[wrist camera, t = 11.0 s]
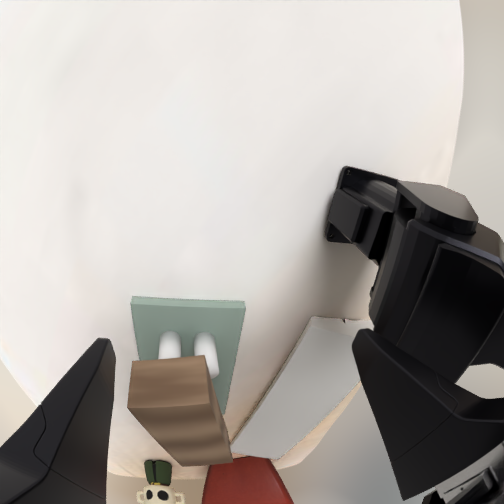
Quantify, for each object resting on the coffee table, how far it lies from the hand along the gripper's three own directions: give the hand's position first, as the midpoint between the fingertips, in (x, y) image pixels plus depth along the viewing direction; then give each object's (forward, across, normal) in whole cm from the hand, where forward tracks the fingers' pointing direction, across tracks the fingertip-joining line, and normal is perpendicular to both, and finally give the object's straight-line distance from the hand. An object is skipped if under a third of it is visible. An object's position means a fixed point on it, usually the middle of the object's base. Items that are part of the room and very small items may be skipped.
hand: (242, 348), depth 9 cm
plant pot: (+13, -7, +61) cm, 63 cm away
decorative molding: (+14, -12, +28) cm, 34 cm away
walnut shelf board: (+8, +2, +18) cm, 20 cm away
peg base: (+13, +3, +18) cm, 22 cm away
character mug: (+13, +12, +57) cm, 59 cm away
